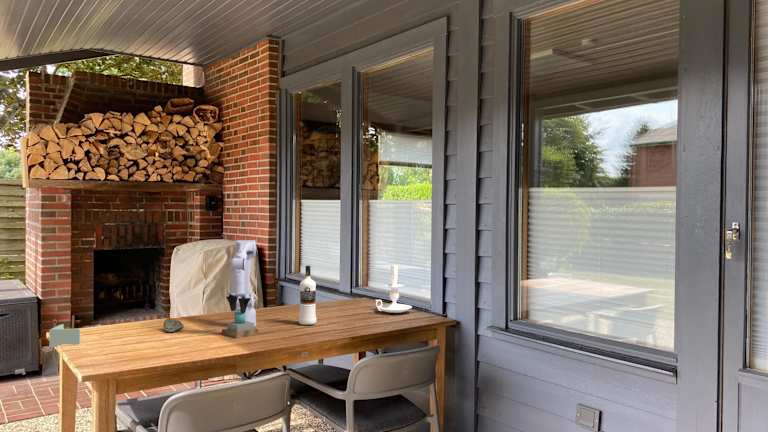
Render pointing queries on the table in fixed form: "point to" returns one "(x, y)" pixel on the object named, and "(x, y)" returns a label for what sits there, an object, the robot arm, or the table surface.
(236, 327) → the gray top slab
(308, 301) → the vodka
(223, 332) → the walnut base slab
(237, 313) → the teal cylinder
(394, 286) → the candlestick
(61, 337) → the right angle wall
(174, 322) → the rock sample
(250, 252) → the robot arm
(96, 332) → the table surface
